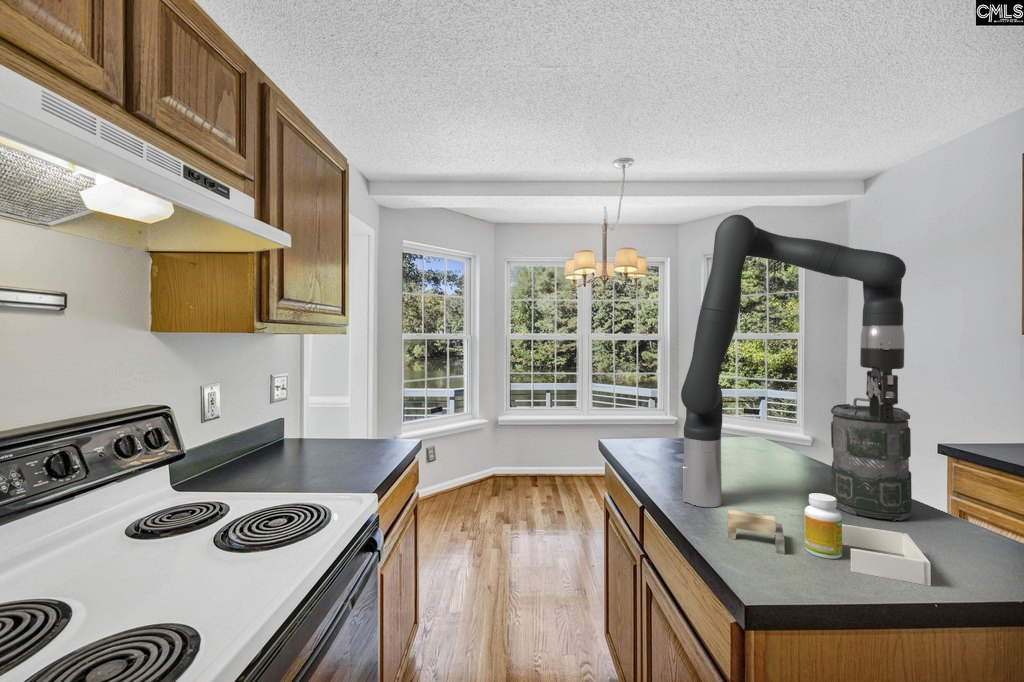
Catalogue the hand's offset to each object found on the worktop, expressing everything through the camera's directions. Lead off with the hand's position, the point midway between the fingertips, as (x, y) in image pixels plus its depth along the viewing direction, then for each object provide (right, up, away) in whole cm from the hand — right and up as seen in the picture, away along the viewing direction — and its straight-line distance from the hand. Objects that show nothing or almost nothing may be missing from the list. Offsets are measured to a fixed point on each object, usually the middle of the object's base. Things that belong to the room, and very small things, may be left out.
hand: (880, 419), depth 101 cm
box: (-10, -25, -13) cm, 30 cm away
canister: (+9, -25, +14) cm, 30 cm away
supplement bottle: (-18, -26, -8) cm, 33 cm away
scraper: (-29, -26, -3) cm, 39 cm away
